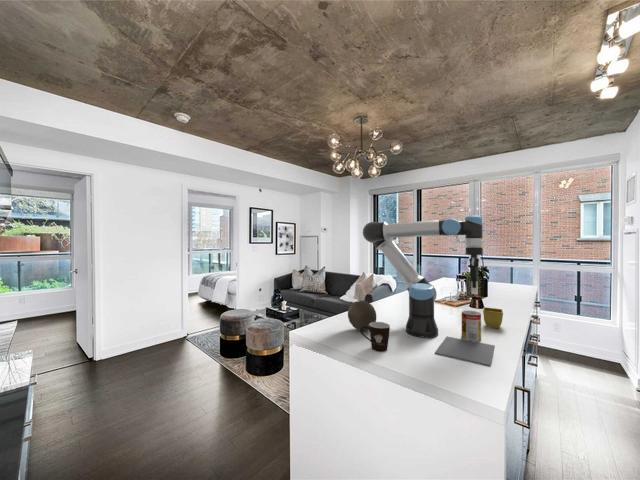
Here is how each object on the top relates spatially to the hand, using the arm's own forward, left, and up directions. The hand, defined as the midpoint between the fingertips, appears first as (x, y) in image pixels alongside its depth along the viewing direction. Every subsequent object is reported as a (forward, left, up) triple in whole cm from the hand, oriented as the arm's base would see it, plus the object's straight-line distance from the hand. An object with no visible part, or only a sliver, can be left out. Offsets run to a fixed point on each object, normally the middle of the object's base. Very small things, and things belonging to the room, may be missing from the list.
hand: (474, 294), depth 135 cm
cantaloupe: (-46, -32, -19) cm, 59 cm away
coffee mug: (-31, -48, -19) cm, 60 cm away
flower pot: (+7, +15, -19) cm, 25 cm away
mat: (0, -29, -19) cm, 34 cm away
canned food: (0, -12, -19) cm, 22 cm away
